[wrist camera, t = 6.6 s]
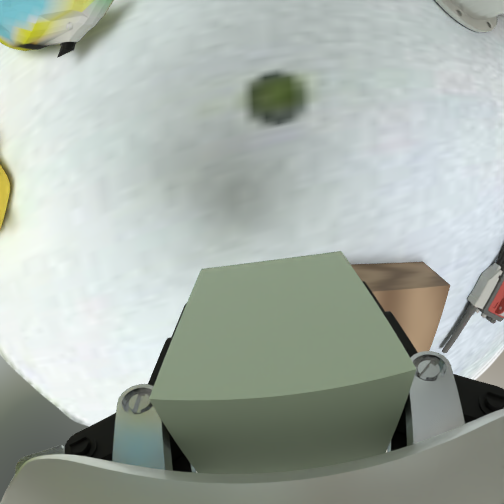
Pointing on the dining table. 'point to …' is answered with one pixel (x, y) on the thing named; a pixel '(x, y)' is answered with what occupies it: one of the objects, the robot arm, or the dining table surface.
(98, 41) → the dining table surface
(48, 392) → the dining table surface
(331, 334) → the sage block
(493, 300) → the walkie-talkie
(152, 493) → the robot arm
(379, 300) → the walnut box
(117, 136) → the dining table surface
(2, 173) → the teapot
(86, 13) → the decorative bird
